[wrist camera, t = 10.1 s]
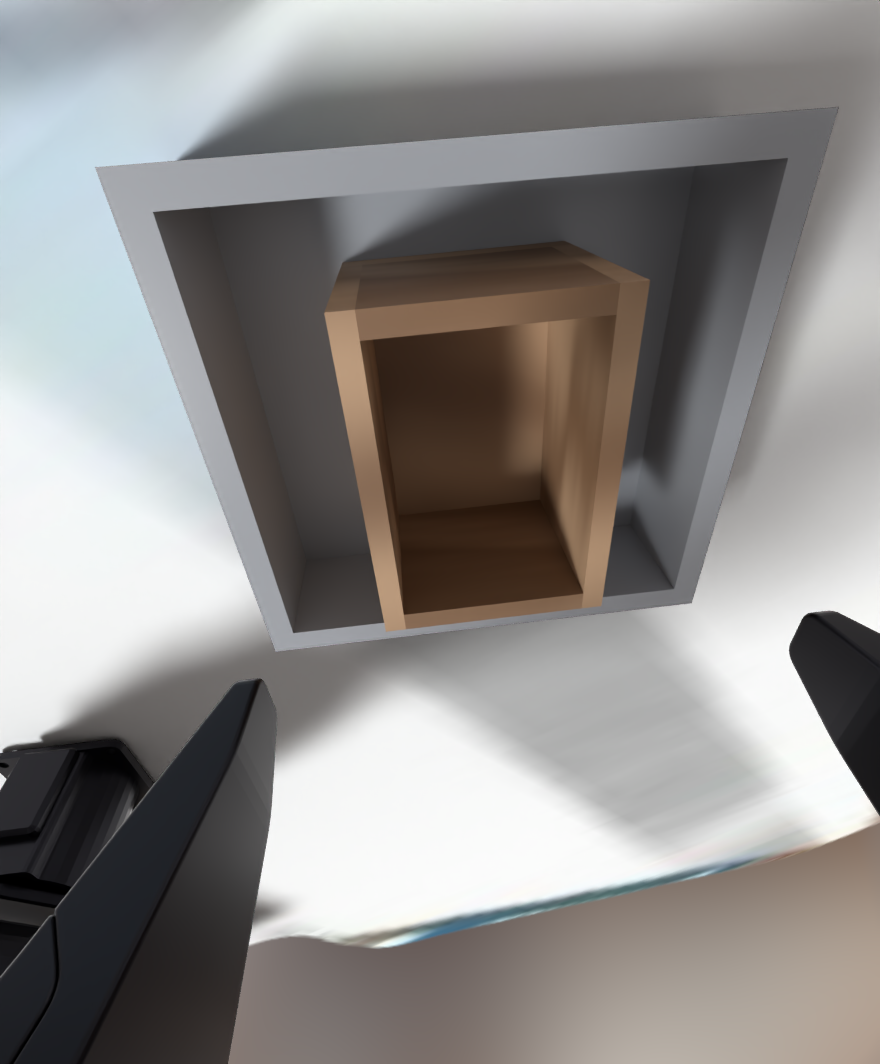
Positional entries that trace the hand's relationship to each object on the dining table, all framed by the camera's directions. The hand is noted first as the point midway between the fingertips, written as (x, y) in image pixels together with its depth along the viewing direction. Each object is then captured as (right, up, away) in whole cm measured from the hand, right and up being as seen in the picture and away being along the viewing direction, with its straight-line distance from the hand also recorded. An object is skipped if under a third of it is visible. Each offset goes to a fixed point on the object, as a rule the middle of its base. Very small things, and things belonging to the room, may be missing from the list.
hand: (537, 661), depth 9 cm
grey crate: (-1, +7, +10) cm, 12 cm away
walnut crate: (-1, +7, +9) cm, 11 cm away
